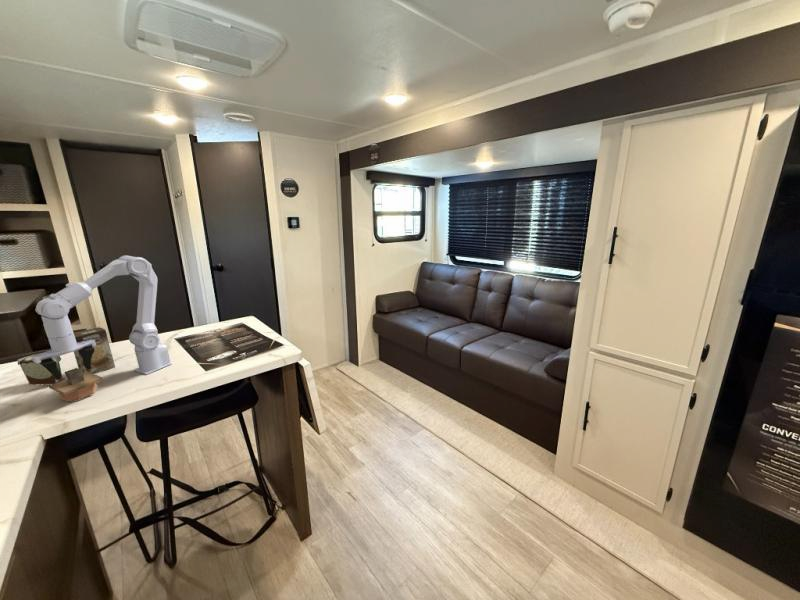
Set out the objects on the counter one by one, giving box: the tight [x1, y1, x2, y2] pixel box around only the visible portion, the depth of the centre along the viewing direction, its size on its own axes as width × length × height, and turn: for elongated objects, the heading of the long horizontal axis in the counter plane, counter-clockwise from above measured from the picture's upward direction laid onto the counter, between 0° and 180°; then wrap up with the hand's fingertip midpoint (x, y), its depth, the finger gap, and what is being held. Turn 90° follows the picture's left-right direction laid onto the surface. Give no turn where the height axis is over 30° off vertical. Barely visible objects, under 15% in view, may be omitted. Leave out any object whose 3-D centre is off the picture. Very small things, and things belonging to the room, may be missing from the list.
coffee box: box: [73, 326, 116, 375], centre depth 121 cm, size 9×6×16 cm
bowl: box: [58, 382, 98, 402], centre depth 106 cm, size 8×8×4 cm
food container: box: [16, 352, 63, 386], centre depth 115 cm, size 12×6×10 cm, turn 92°
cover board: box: [48, 367, 104, 395], centre depth 105 cm, size 10×10×5 cm
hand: (73, 373), depth 104 cm, fingers open, 7 cm apart
